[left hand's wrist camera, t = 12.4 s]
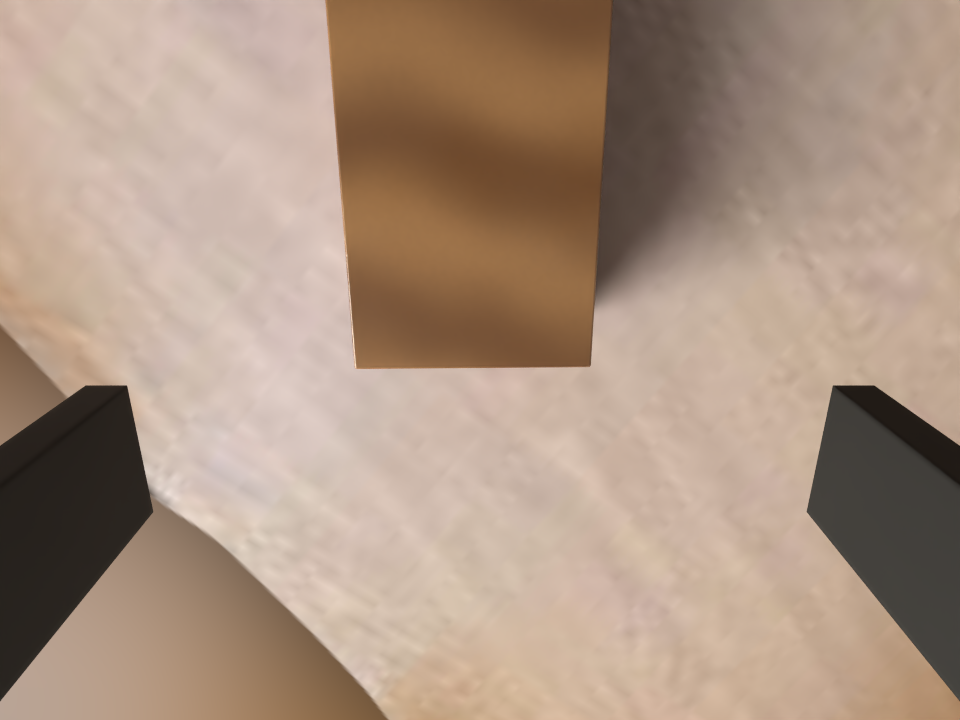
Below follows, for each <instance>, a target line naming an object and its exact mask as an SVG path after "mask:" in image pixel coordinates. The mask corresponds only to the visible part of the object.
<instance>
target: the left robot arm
mask: <svg viewBox="0 0 960 720" xmlns="http://www.w3.org/2000/svg"><path fill="white" fill-rule="evenodd" d="M152 513H153V509H152V504H151V499H150V494H149V489H148V484H147V479H146V475H145V470H144V465H143V460H142V455H141V451H140V446H139V441H138V436H137V431H136V427H135V422H134V417H133V412H132V407H131V403H130V398H129V393H128V388H127V386H84V387H83V388H82V389H80V390H79V391H77V392H76V393H75V394H73V395H72V396H70V397H69V398H67V399H66V400H65V401H63V402H62V403H60V404H59V405H58V406H56V407H55V408H53V409H52V410H50V411H49V412H48V413H46V414H45V415H43V416H42V417H40V418H39V419H38V420H36V421H35V422H33V423H32V424H31V425H29V426H28V427H26V428H25V429H23V430H22V431H21V432H19V433H18V434H16V435H15V436H13V437H12V438H11V439H9V440H8V441H6V442H5V443H4V444H2V445H1V446H0V701H1V699H2V698H3V697H4V696H5V695H6V693H7V692H8V691H9V690H10V688H11V687H12V686H13V685H14V683H15V682H16V681H17V680H18V678H19V677H20V676H21V675H22V673H23V672H24V671H25V670H26V669H27V667H28V666H29V665H30V664H31V662H32V661H33V660H34V659H35V657H36V656H37V655H38V654H39V652H40V651H41V650H42V649H43V647H44V646H45V645H46V644H47V643H48V641H49V640H50V639H51V638H52V636H53V635H54V634H55V633H56V631H57V630H58V629H59V628H60V627H61V625H62V624H63V623H64V622H65V620H66V619H67V618H68V617H69V615H70V614H71V613H72V612H73V610H74V609H75V608H76V607H77V606H78V604H79V603H80V602H81V601H82V599H83V598H84V597H85V596H86V594H87V593H88V592H89V591H90V589H91V588H92V587H93V586H94V585H95V583H96V582H97V581H98V580H99V578H100V577H101V576H102V575H103V573H104V572H105V571H106V570H107V568H108V567H109V566H110V565H111V564H112V562H113V561H114V560H115V559H116V557H117V556H118V555H119V554H120V552H121V551H122V550H123V549H124V547H125V546H126V545H127V544H128V542H129V541H130V540H131V539H132V538H133V536H134V535H135V534H136V533H137V531H138V530H139V529H140V528H141V526H142V525H143V524H144V523H145V521H146V520H147V519H148V518H149V517H150V515H151V514H152ZM807 513H808V514H809V515H810V517H811V518H812V519H813V520H814V521H815V523H816V524H817V525H818V526H819V528H820V529H821V530H822V531H823V533H824V534H825V535H826V536H827V538H828V539H829V540H830V541H831V542H832V544H833V545H834V546H835V547H836V549H837V550H838V551H839V552H840V554H841V555H842V556H843V557H844V559H845V560H846V561H847V562H848V564H849V565H850V566H851V567H852V568H853V570H854V571H855V572H856V573H857V575H858V576H859V577H860V578H861V580H862V581H863V582H864V583H865V585H866V586H867V587H868V588H869V589H870V591H871V592H872V593H873V594H874V596H875V597H876V598H877V599H878V601H879V602H880V603H881V604H882V606H883V607H884V608H885V609H886V610H887V612H888V613H889V614H890V615H891V617H892V618H893V619H894V620H895V622H896V623H897V624H898V625H899V627H900V628H901V629H902V630H903V631H904V633H905V634H906V635H907V636H908V638H909V639H910V640H911V641H912V643H913V644H914V645H915V646H916V648H917V649H918V650H919V651H920V653H921V654H922V655H923V656H924V657H925V659H926V660H927V661H928V662H929V664H930V665H931V666H932V667H933V669H934V670H935V671H936V672H937V674H938V675H939V676H940V677H941V678H942V680H943V681H944V682H945V683H946V685H947V686H948V687H949V688H950V690H951V691H952V692H953V693H954V695H955V696H956V697H957V698H958V699H959V701H960V446H959V445H958V444H956V443H955V442H954V441H952V440H951V439H949V438H948V437H947V436H945V435H944V434H942V433H941V432H939V431H938V430H937V429H935V428H934V427H932V426H931V425H929V424H928V423H927V422H925V421H924V420H922V419H921V418H920V417H918V416H917V415H915V414H914V413H912V412H911V411H910V410H908V409H907V408H905V407H904V406H902V405H901V404H900V403H898V402H897V401H895V400H894V399H893V398H891V397H890V396H888V395H887V394H885V393H884V392H883V391H881V390H880V389H878V388H877V387H876V386H833V388H832V393H831V398H830V403H829V407H828V412H827V417H826V422H825V427H824V431H823V436H822V441H821V446H820V451H819V455H818V460H817V465H816V470H815V475H814V479H813V484H812V489H811V494H810V499H809V504H808V508H807Z"/></svg>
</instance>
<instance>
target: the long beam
mask: <svg viewBox="0 0 960 720" xmlns="http://www.w3.org/2000/svg"><path fill="white" fill-rule="evenodd" d="M325 1H326V14H327V26H328V39H329V51H330V64H331V77H332V89H333V102H334V114H335V127H336V139H337V152H338V164H339V177H340V190H341V202H342V215H343V227H344V240H345V252H346V265H347V278H348V290H349V303H350V315H351V328H352V340H353V353H354V365H355V368H356V369H391V368H522V367H590V365H591V352H592V336H593V320H594V304H595V287H596V271H597V255H598V239H599V223H600V206H601V190H602V174H603V158H604V142H605V125H606V109H607V93H608V77H609V61H610V44H611V28H612V12H613V0H325Z"/></svg>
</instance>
